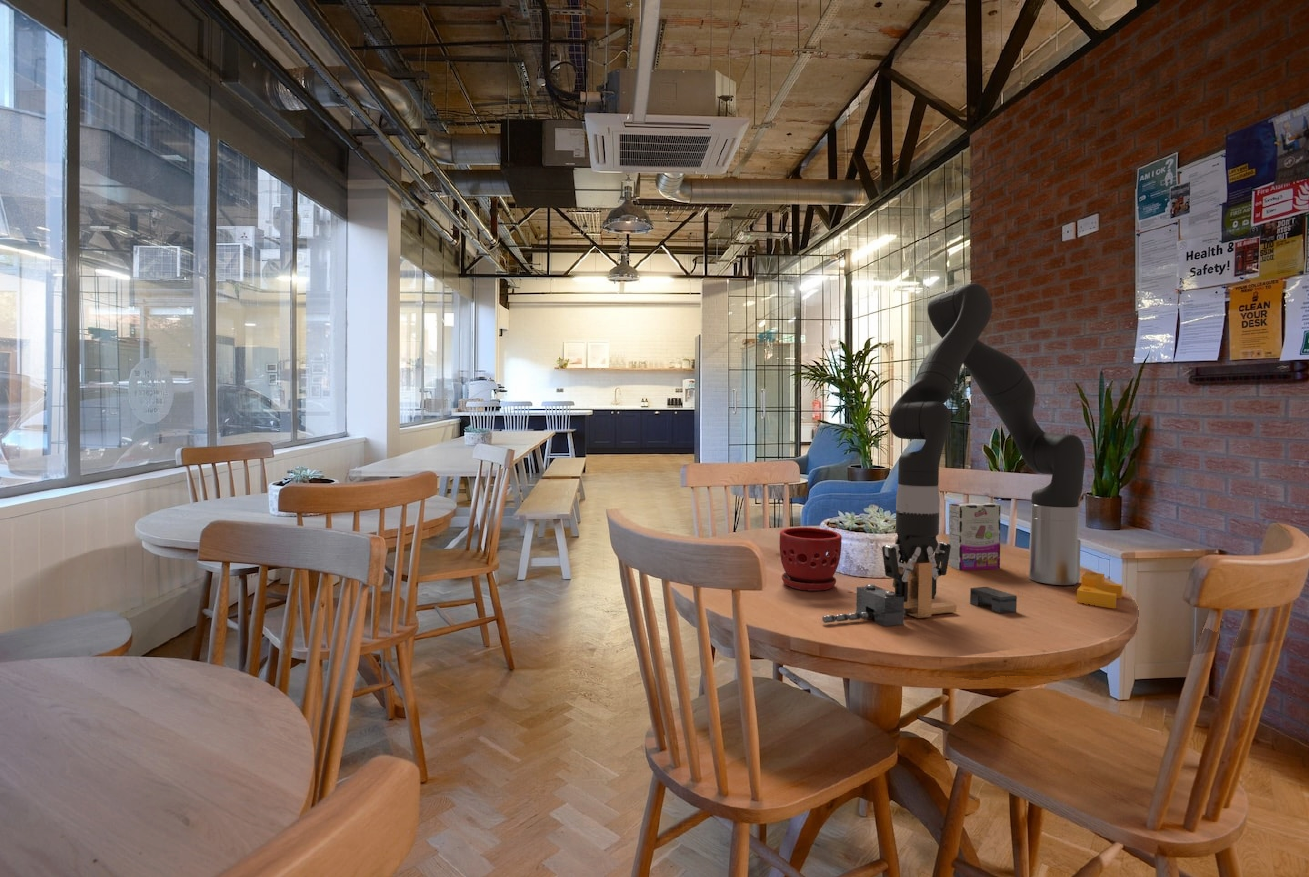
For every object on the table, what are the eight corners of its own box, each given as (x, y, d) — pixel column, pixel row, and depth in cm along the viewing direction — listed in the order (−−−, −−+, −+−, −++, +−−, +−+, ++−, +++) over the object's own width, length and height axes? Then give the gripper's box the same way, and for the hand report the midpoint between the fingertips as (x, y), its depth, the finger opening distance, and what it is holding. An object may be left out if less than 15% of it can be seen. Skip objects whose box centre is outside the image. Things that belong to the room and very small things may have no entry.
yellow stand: (1086, 571, 147) (1122, 576, 143) (1085, 591, 147) (1122, 597, 143) (1077, 581, 138) (1115, 586, 133) (1076, 602, 138) (1115, 608, 134)
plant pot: (766, 585, 149) (767, 530, 149) (802, 576, 158) (803, 525, 157) (817, 597, 139) (818, 539, 139) (852, 587, 148) (853, 532, 148)
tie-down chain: (942, 606, 132) (943, 555, 132) (961, 613, 128) (962, 560, 127) (814, 618, 123) (815, 563, 123) (830, 627, 118) (831, 569, 118)
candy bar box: (986, 567, 171) (988, 502, 170) (1000, 571, 166) (1002, 504, 165) (946, 568, 168) (948, 502, 168) (959, 573, 163) (961, 505, 163)
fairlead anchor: (874, 611, 129) (874, 582, 129) (903, 624, 121) (904, 593, 121) (856, 613, 128) (856, 583, 128) (884, 626, 120) (885, 594, 120)
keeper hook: (985, 601, 137) (986, 586, 137) (1016, 611, 130) (1016, 595, 130) (970, 603, 136) (970, 588, 136) (1000, 613, 129) (1000, 597, 129)
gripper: (934, 505, 133) (932, 592, 133) (872, 507, 128) (870, 597, 128) (963, 510, 125) (961, 601, 126) (899, 513, 121) (896, 608, 121)
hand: (915, 599), depth 127 cm, fingers open, 5 cm apart
